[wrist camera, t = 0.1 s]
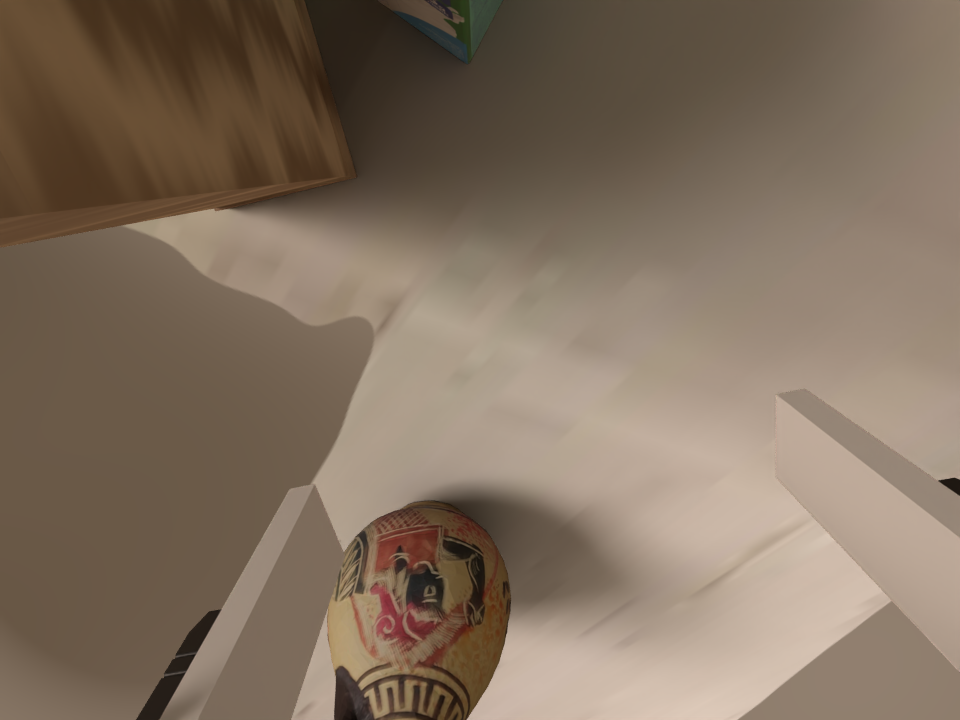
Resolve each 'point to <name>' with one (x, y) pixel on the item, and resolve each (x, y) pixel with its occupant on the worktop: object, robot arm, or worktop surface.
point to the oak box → (158, 111)
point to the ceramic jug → (417, 616)
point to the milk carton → (449, 21)
